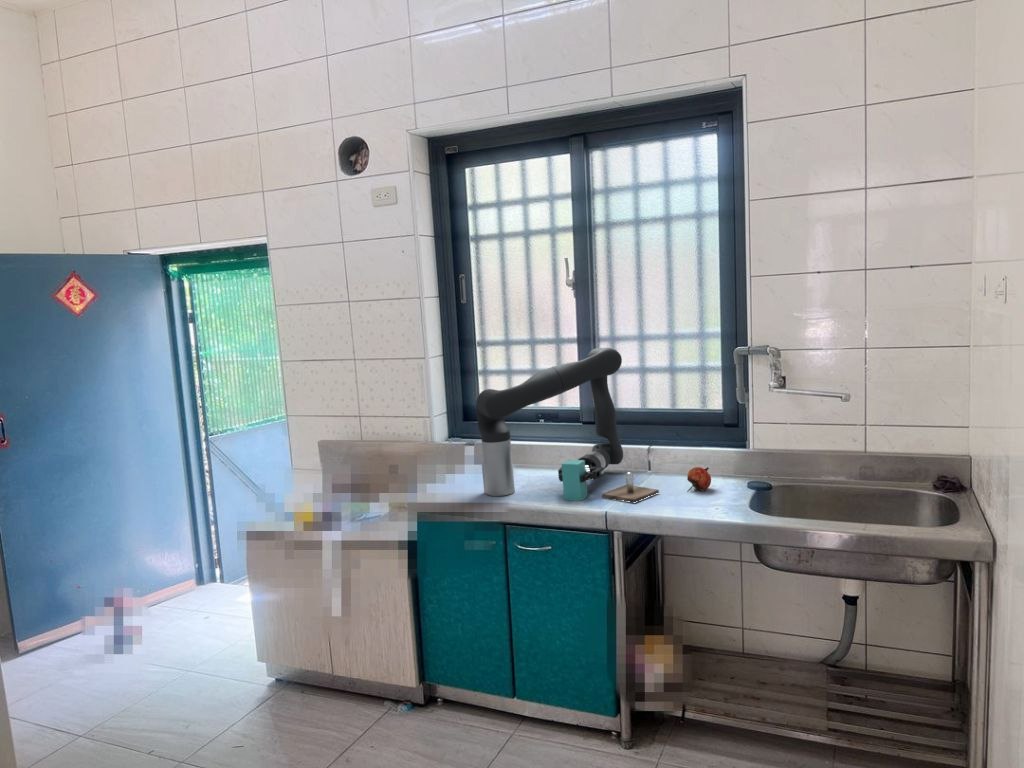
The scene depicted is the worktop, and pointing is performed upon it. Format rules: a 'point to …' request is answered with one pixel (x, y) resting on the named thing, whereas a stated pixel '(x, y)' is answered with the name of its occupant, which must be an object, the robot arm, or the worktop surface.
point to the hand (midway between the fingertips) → (571, 478)
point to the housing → (573, 480)
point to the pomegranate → (699, 478)
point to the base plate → (632, 497)
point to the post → (629, 482)
